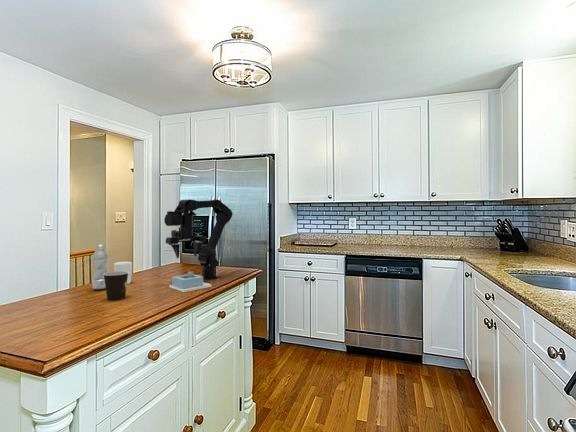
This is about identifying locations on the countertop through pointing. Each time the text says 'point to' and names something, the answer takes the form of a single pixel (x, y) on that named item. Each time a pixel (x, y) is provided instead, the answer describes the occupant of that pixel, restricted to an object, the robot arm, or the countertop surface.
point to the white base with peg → (190, 275)
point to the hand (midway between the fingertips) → (186, 257)
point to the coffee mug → (116, 285)
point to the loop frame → (187, 281)
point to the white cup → (124, 269)
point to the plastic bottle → (100, 266)
